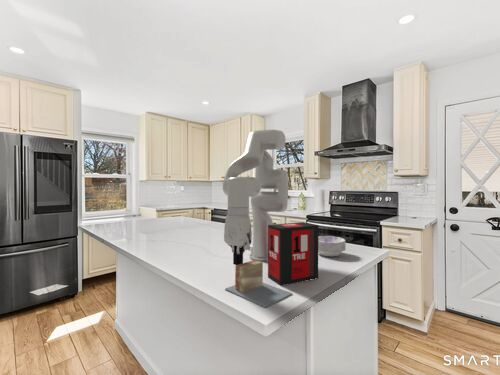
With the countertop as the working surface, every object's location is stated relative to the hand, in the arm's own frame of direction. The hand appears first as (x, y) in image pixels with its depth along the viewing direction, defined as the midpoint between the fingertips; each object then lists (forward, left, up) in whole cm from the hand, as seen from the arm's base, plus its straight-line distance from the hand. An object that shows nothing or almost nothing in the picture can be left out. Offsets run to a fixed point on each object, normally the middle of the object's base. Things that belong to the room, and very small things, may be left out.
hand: (238, 264), depth 93 cm
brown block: (+5, 0, -7) cm, 9 cm away
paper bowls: (+3, +59, -7) cm, 60 cm away
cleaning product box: (+10, +19, -7) cm, 23 cm away
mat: (+9, 0, -7) cm, 12 cm away
